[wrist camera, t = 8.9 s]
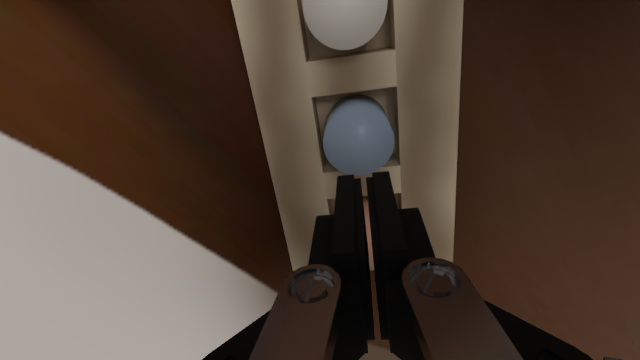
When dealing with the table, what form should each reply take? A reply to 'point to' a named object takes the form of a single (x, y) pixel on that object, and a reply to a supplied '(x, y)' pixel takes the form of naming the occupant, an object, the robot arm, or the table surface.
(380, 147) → the button slate
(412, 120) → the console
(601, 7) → the table surface
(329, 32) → the button ivory
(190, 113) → the table surface
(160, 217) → the table surface
